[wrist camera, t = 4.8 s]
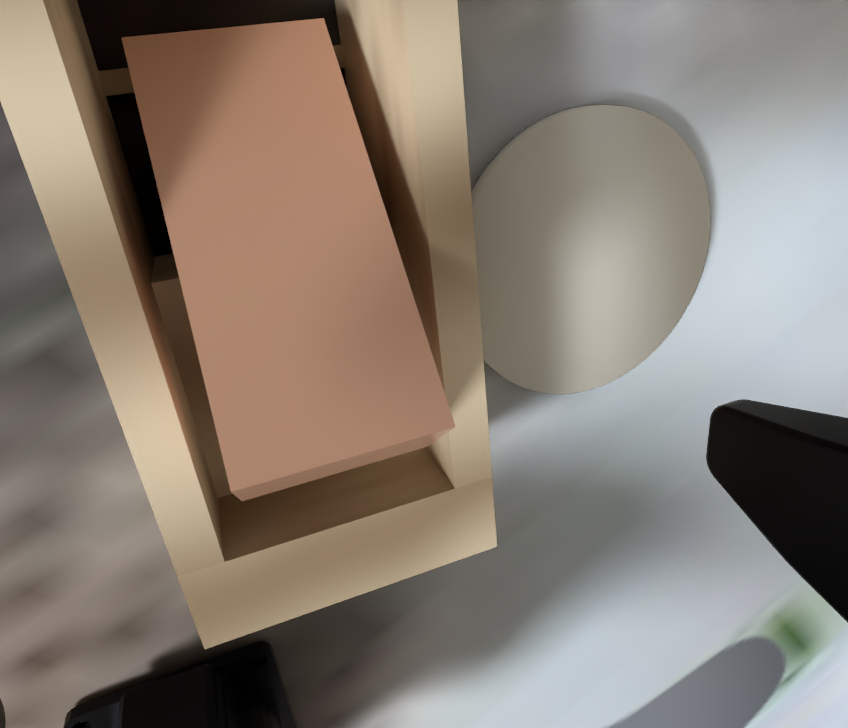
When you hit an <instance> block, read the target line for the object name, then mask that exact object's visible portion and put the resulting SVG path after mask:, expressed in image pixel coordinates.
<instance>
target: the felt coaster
mask: <svg viewBox="0 0 848 728" xmlns="http://www.w3.org/2000/svg"><path fill="white" fill-rule="evenodd" d="M471 195H472V209H473V223H474V236H475V250H476V264H477V277H478V291H479V305H480V319H481V332H482V346H483V360H484V361H485V362H486V363H487V364H488V365H489V366H490V367H491V368H492V369H494V370H495V371H496V372H497V373H499V374H500V375H501V376H502V377H504V378H505V379H507V380H509V381H510V382H512V383H514V384H516V385H517V386H520V387H523V388H526V389H528V390H531V391H536V392H541V393H546V394H570V393H578V392H582V391H587V390H591V389H594V388H597V387H599V386H602V385H605V384H607V383H609V382H611V381H613V380H615V379H617V378H619V377H621V376H623V375H624V374H626V373H627V372H629V371H630V370H632V369H634V368H635V367H636V366H637V365H639V364H640V363H641V362H642V361H644V360H645V359H646V358H647V357H648V356H650V355H651V354H652V353H653V352H654V351H655V350H656V349H657V348H658V347H659V346H660V345H661V344H662V342H663V341H664V340H665V339H666V338H667V337H668V335H669V334H670V333H671V332H672V330H673V329H674V327H675V326H676V325H677V323H678V322H679V320H680V319H681V317H682V316H683V314H684V312H685V310H686V309H687V307H688V305H689V304H690V301H691V299H692V297H693V295H694V293H695V291H696V288H697V286H698V283H699V280H700V278H701V275H702V272H703V269H704V265H705V261H706V257H707V252H708V245H709V239H710V222H711V216H710V202H709V196H708V191H707V185H706V182H705V179H704V176H703V173H702V170H701V167H700V165H699V163H698V161H697V159H696V157H695V155H694V153H693V152H692V150H691V149H690V147H689V146H688V144H687V143H686V142H685V140H684V139H683V138H682V137H681V136H680V135H679V134H678V133H677V132H676V131H675V130H674V129H673V128H672V127H671V126H669V125H668V124H667V123H665V122H664V121H662V120H661V119H660V118H658V117H655V116H653V115H651V114H649V113H647V112H645V111H642V110H638V109H635V108H631V107H625V106H615V105H589V106H579V107H575V108H571V109H566V110H563V111H560V112H558V113H555V114H553V115H550V116H548V117H545V118H544V119H542V120H540V121H538V122H537V123H535V124H533V125H531V126H529V127H528V128H527V129H525V130H524V131H523V132H521V133H520V134H519V135H517V136H516V137H515V138H513V139H512V140H511V141H510V142H509V143H508V144H507V145H506V146H505V147H504V148H503V149H502V150H501V151H500V152H499V153H498V154H497V155H496V156H495V157H494V159H493V160H492V161H491V162H490V164H489V165H488V166H487V167H486V169H485V170H484V171H483V173H482V174H481V176H480V178H479V179H478V181H477V182H476V184H475V186H474V187H473V189H472V191H471Z"/></svg>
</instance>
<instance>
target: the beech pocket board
mask: <svg viewBox="0 0 848 728" xmlns="http://www.w3.org/2000/svg"><path fill="white" fill-rule="evenodd" d="M334 1H335V8H336V15H337V22H338V28H339V35H340V42H341V45H334V46H333V49H334V52H335V55H336V58H337V61H338V64H339V67H340V68H344V69H345V76H346V83H347V89H348V95H349V98H350V101H351V104H352V107H353V110H354V114H355V117H356V120H357V123H358V126H359V129H360V132H361V135H362V138H363V141H364V145H365V148H366V151H367V154H368V157H369V160H370V163H371V166H372V169H373V172H374V176H375V179H376V182H377V185H378V188H379V191H380V194H381V197H382V200H383V203H384V207H385V210H386V213H387V216H388V219H389V222H390V225H391V228H392V231H393V234H394V238H395V241H396V244H397V247H398V250H399V253H400V256H401V259H402V262H403V265H404V269H405V272H406V275H407V278H408V281H409V284H410V287H411V290H412V293H413V296H414V300H415V303H416V306H417V309H418V312H419V315H420V318H421V321H422V324H423V327H424V331H425V334H426V337H427V340H428V343H429V346H430V349H431V352H432V355H433V358H434V362H435V365H436V368H437V371H438V374H439V377H440V380H441V383H442V386H443V389H444V392H445V396H446V399H447V402H448V405H449V408H450V411H451V414H452V417H453V420H454V423H455V428H453V429H452V430H450V431H449V432H448V433H446V434H445V435H443V436H442V437H441V438H439V439H438V440H436V441H435V442H433V443H432V444H431V445H429V446H428V447H425V448H421V449H418V450H415V451H411V452H408V453H404V454H401V455H398V456H394V457H391V458H387V459H384V460H381V461H377V462H374V463H371V464H367V465H364V466H360V467H357V468H354V469H350V470H347V471H343V472H340V473H337V474H333V475H330V476H326V477H323V478H320V479H316V480H313V481H310V482H306V483H303V484H299V485H296V486H293V487H289V488H286V489H282V490H279V491H276V492H272V493H269V494H266V495H262V496H259V497H255V498H252V499H249V500H245V501H241V500H240V499H239V498H238V497H236V496H235V495H234V494H233V493H231V491H230V486H229V482H228V478H227V474H226V470H225V466H224V461H223V457H222V453H221V449H220V445H219V441H218V437H217V432H216V428H215V424H214V420H213V416H212V412H211V408H210V403H209V399H208V395H207V391H206V387H205V383H204V379H203V374H202V370H201V366H200V362H199V358H198V354H197V349H196V345H195V341H194V337H193V333H192V329H191V325H190V320H189V316H188V312H187V308H186V304H185V300H184V296H183V291H182V287H181V283H180V279H179V275H178V271H177V267H176V262H175V258H174V254H173V253H172V254H166V255H161V256H154V253H153V250H152V246H151V243H150V240H149V236H148V233H147V230H146V227H145V223H144V220H143V217H142V213H141V210H140V207H139V203H138V200H137V197H136V194H135V190H134V187H133V184H132V180H131V177H130V174H129V170H128V167H127V164H126V161H125V157H124V154H123V151H122V147H121V144H120V141H119V137H118V134H117V131H116V128H115V124H114V121H113V118H112V114H111V111H110V108H109V104H108V101H107V98H106V96H111V95H119V94H128V93H135V92H134V88H133V84H132V80H131V76H130V72H129V68H121V69H112V70H103V71H98V68H97V65H96V62H95V58H94V55H93V52H92V48H91V45H90V42H89V38H88V35H87V32H86V29H85V25H84V22H83V19H82V15H81V12H80V9H79V5H78V2H77V0H0V101H1V104H2V107H3V109H4V112H5V115H6V117H7V120H8V123H9V125H10V128H11V131H12V133H13V136H14V139H15V142H16V144H17V147H18V150H19V152H20V155H21V158H22V160H23V163H24V166H25V168H26V171H27V174H28V176H29V179H30V182H31V185H32V187H33V190H34V193H35V195H36V198H37V201H38V203H39V206H40V209H41V211H42V214H43V217H44V219H45V222H46V225H47V228H48V230H49V233H50V236H51V238H52V241H53V244H54V246H55V249H56V252H57V254H58V257H59V260H60V262H61V265H62V268H63V271H64V273H65V276H66V279H67V281H68V284H69V287H70V289H71V292H72V295H73V297H74V300H75V303H76V305H77V308H78V311H79V314H80V316H81V319H82V322H83V324H84V327H85V330H86V332H87V335H88V338H89V340H90V343H91V346H92V348H93V351H94V354H95V357H96V359H97V362H98V365H99V367H100V370H101V373H102V375H103V378H104V381H105V383H106V386H107V389H108V391H109V394H110V397H111V400H112V402H113V405H114V408H115V410H116V413H117V416H118V418H119V421H120V424H121V426H122V429H123V432H124V434H125V437H126V440H127V443H128V445H129V448H130V451H131V453H132V456H133V459H134V461H135V464H136V467H137V469H138V472H139V475H140V477H141V480H142V483H143V486H144V488H145V491H146V494H147V496H148V499H149V502H150V504H151V507H152V510H153V512H154V515H155V518H156V520H157V523H158V526H159V529H160V531H161V534H162V537H163V539H164V542H165V545H166V547H167V550H168V553H169V555H170V558H171V561H172V563H173V566H174V569H175V572H176V574H177V577H178V580H179V582H180V585H181V588H182V590H183V593H184V596H185V598H186V601H187V604H188V606H189V609H190V612H191V615H192V617H193V620H194V623H195V625H196V628H197V631H198V633H199V636H200V639H201V641H202V644H203V647H204V649H208V648H210V647H213V646H216V645H219V644H222V643H225V642H228V641H230V640H233V639H236V638H239V637H242V636H245V635H247V634H250V633H253V632H256V631H259V630H262V629H264V628H267V627H270V626H273V625H276V624H279V623H282V622H284V621H287V620H290V619H293V618H296V617H299V616H301V615H304V614H307V613H310V612H313V611H316V610H319V609H321V608H324V607H327V606H330V605H333V604H336V603H338V602H341V601H344V600H347V599H350V598H353V597H355V596H358V595H361V594H364V593H367V592H370V591H373V590H375V589H378V588H381V587H384V586H387V585H390V584H392V583H395V582H398V581H401V580H404V579H407V578H409V577H412V576H415V575H418V574H421V573H424V572H427V571H429V570H432V569H435V568H438V567H441V566H444V565H446V564H449V563H452V562H455V561H458V560H461V559H464V558H466V557H469V556H472V555H475V554H478V553H481V552H483V551H486V550H489V549H492V548H495V547H497V538H496V524H495V510H494V497H493V483H492V469H491V456H490V442H489V428H488V414H487V401H486V387H485V373H484V360H483V346H482V332H481V319H480V305H479V291H478V277H477V264H476V250H475V236H474V223H473V209H472V195H471V181H470V168H469V154H468V140H467V127H466V113H465V99H464V86H463V72H462V58H461V44H460V31H459V17H458V3H457V0H334Z"/></svg>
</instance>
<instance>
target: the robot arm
mask: <svg viewBox="0 0 848 728" xmlns="http://www.w3.org/2000/svg"><path fill="white" fill-rule="evenodd" d="M706 460H707V465H708V467H709V470H710V472H711V473H712V475H713V476H714V477H715V479H716V480H717V481H718V482H719V483H720V485H721V486H722V487H723V488H724V489H725V490H726V492H727V493H728V494H729V495H730V496H731V497H732V499H733V500H734V501H735V502H736V503H737V504H738V506H739V507H740V508H741V509H742V510H743V512H744V513H745V514H746V515H747V516H748V517H749V519H750V520H751V521H752V522H753V523H754V524H755V526H756V527H757V528H758V529H759V530H760V532H761V533H762V534H763V535H764V536H765V537H766V539H767V540H768V541H769V542H770V543H771V544H772V546H773V547H774V548H775V549H776V550H777V551H778V552H779V554H780V555H781V556H782V557H783V558H784V559H785V560H786V561H787V562H788V564H789V565H790V566H791V567H792V568H793V569H794V570H795V571H796V572H797V573H798V574H799V575H800V576H801V577H802V578H803V579H804V580H805V581H806V582H807V583H808V584H809V585H810V586H811V587H812V588H813V589H814V590H815V591H816V592H817V593H818V594H819V595H820V596H821V597H822V598H823V599H824V600H825V601H827V602H828V603H829V604H830V605H831V606H832V607H833V608H834V609H835V610H836V611H837V612H838V613H839V614H840V615H841V616H842V617H843V618H844V619H845V620H846V621H847V622H848V418H844V417H839V416H833V415H828V414H822V413H817V412H811V411H806V410H801V409H795V408H790V407H784V406H779V405H773V404H768V403H762V402H757V401H751V400H744V399H743V400H736V401H733V402H730V403H727V404H724V405H721V406H718V407H717V408H715V409H714V411H713V412H712V414H711V418H710V426H709V435H708V444H707V454H706ZM257 657H262V658H260V659H255V658H257ZM82 721H86V722H82ZM81 722H82V723H81ZM0 728H5V712H4V707H3V704H2V701H1V699H0ZM64 728H297V726H296V723H295V720H294V717H293V713H292V710H291V707H290V703H289V700H288V697H287V693H286V690H285V687H284V684H283V680H282V677H281V674H280V670H279V667H278V664H277V661H276V657H275V654H274V651H273V648H272V646H271V645H270V644H269V643H267V642H257V643H253V644H250V645H248V646H245V647H242V648H239V649H236V650H234V651H231V652H228V653H225V654H222V655H220V656H217V657H214V658H211V659H208V660H205V661H203V662H200V663H197V664H194V665H191V666H189V667H186V668H183V669H180V670H177V671H175V672H172V673H169V674H166V675H163V676H161V677H158V678H155V679H152V680H149V681H147V682H144V683H141V684H138V685H135V686H133V687H130V688H127V689H124V690H121V691H118V692H116V693H113V694H110V695H107V696H104V697H102V698H99V699H96V700H93V701H90V702H88V703H85V704H82V705H79V706H77V707H75V708H73V709H71V710H70V711H69V712H68V713H67V715H66V718H65V723H64Z"/></svg>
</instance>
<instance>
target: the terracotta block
mask: <svg viewBox="0 0 848 728" xmlns="http://www.w3.org/2000/svg"><path fill="white" fill-rule="evenodd" d="M122 43H123V47H124V51H125V55H126V59H127V63H128V67H129V72H130V76H131V80H132V84H133V88H134V92H135V96H136V101H137V105H138V109H139V113H140V117H141V121H142V125H143V130H144V134H145V138H146V142H147V146H148V150H149V155H150V159H151V163H152V167H153V171H154V175H155V179H156V184H157V188H158V192H159V196H160V200H161V204H162V208H163V213H164V217H165V221H166V225H167V229H168V233H169V237H170V242H171V246H172V250H173V254H174V258H175V262H176V267H177V271H178V275H179V279H180V283H181V287H182V291H183V296H184V300H185V304H186V308H187V312H188V316H189V320H190V325H191V329H192V333H193V337H194V341H195V345H196V349H197V354H198V358H199V362H200V366H201V370H202V374H203V379H204V383H205V387H206V391H207V395H208V399H209V403H210V408H211V412H212V416H213V420H214V424H215V428H216V432H217V437H218V441H219V445H220V449H221V453H222V457H223V461H224V466H225V470H226V474H227V478H228V482H229V486H230V491H231V493H233V494H234V495H235V496H236V497H238V498H239V499H240V500H241V501H245V500H249V499H252V498H255V497H259V496H262V495H266V494H269V493H272V492H276V491H279V490H282V489H286V488H289V487H293V486H296V485H299V484H303V483H306V482H310V481H313V480H316V479H320V478H323V477H326V476H330V475H333V474H337V473H340V472H343V471H347V470H350V469H354V468H357V467H360V466H364V465H367V464H371V463H374V462H377V461H381V460H384V459H387V458H391V457H394V456H398V455H401V454H404V453H408V452H411V451H415V450H418V449H421V448H425V447H428V446H429V445H431V444H432V443H433V442H435V441H436V440H438V439H439V438H441V437H442V436H443V435H445V434H446V433H448V432H449V431H450V430H452V429H453V428H455V423H454V420H453V417H452V414H451V411H450V408H449V405H448V402H447V399H446V396H445V392H444V389H443V386H442V383H441V380H440V377H439V374H438V371H437V368H436V365H435V362H434V358H433V355H432V352H431V349H430V346H429V343H428V340H427V337H426V334H425V331H424V327H423V324H422V321H421V318H420V315H419V312H418V309H417V306H416V303H415V300H414V296H413V293H412V290H411V287H410V284H409V281H408V278H407V275H406V272H405V269H404V265H403V262H402V259H401V256H400V253H399V250H398V247H397V244H396V241H395V238H394V234H393V231H392V228H391V225H390V222H389V219H388V216H387V213H386V210H385V207H384V203H383V200H382V197H381V194H380V191H379V188H378V185H377V182H376V179H375V176H374V172H373V169H372V166H371V163H370V160H369V157H368V154H367V151H366V148H365V145H364V141H363V138H362V135H361V132H360V129H359V126H358V123H357V120H356V117H355V114H354V110H353V107H352V104H351V101H350V98H349V95H348V92H347V89H346V86H345V83H344V80H343V76H342V73H341V70H340V67H339V64H338V61H337V58H336V55H335V52H334V49H333V45H332V42H331V39H330V36H329V33H328V30H327V27H326V24H325V21H324V18H320V19H309V20H299V21H288V22H278V23H267V24H257V25H247V26H236V27H226V28H215V29H205V30H195V31H184V32H174V33H163V34H153V35H142V36H132V37H122Z"/></svg>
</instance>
